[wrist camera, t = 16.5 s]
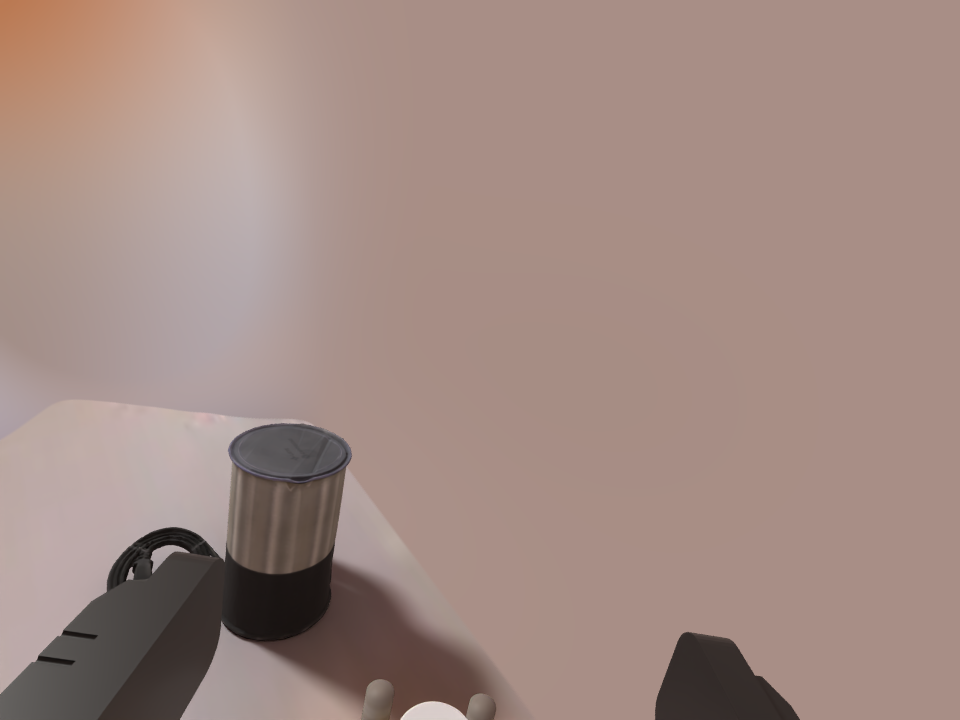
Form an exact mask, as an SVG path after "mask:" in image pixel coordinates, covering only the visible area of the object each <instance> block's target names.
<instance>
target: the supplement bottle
mask: <svg viewBox="0 0 960 720" xmlns="http://www.w3.org/2000/svg"><path fill="white" fill-rule="evenodd" d="M400 720H467V718H466V717H465V716H464V715H463V714H462V713H461V712H460V711H459V710H457V709H456V708H454V707H452V706H450V705H448V704H446V703H442V702H434V701H432V702H424V703H420V704H418V705H416V706H414V707H412V708H411V709H409V710H408V711H407V712H406V713H405V714H404V715H403V717H402V718H401V719H400Z"/></svg>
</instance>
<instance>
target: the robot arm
mask: <svg viewBox="0 0 960 720" xmlns="http://www.w3.org/2000/svg"><path fill="white" fill-rule="evenodd" d="M224 574H225V563H224V560H223V559H222V558H216V557H210V556H204V555H197V554H191V553H184V552H174V553H172V554H171V555H169V556H168V557H167V558H166V560H165V561H164V562H163V563H162V564H161V565H160V566H159V567H158V569H157V570H156V571H155V572H154V573H153V574H152V575H151V576H150V578H149V579H148V580H147V581H146V582H142V581H135V580H129V579H128V580H127V581H125V582H123V583H122V584H120V585H118V586H117V587H115V588H113V589H112V590H110V591H108V592H107V593H105V594H103V595H101V596H100V597H98V598H96V599H95V600H93V601H91V602H90V604H89V605H88V606H87V607H86V608H85V609H84V610H83V611H82V612H81V613H80V614H79V615H78V616H77V617H76V618H75V619H74V620H73V621H72V622H71V623H70V624H69V625H68V626H67V627H66V628H65V629H64V630H63V633H62V635H61V636H60V637H59V636H57V637H56V638H55V639H54V640H53V641H52V642H51V643H50V644H49V645H48V646H47V647H46V648H45V649H44V650H43V651H42V652H41V653H40V654H39V655H38V659H37V661H36V662H35V663H34V662H32V663H31V664H30V665H29V666H28V667H27V668H26V669H25V670H24V671H23V672H22V673H21V674H20V675H19V676H18V677H17V678H16V679H15V680H14V681H13V682H12V683H11V684H10V685H9V686H8V687H7V688H6V689H5V690H4V691H3V692H2V693H1V694H0V720H180V718H181V716H182V715H183V713H184V711H185V709H186V708H187V706H188V704H189V703H190V701H191V699H192V697H193V696H194V694H195V692H196V690H197V689H198V687H199V685H200V683H201V682H202V680H203V678H204V677H205V675H206V673H207V671H208V669H209V667H210V664H211V662H212V660H213V657H214V654H215V651H216V648H217V645H218V641H219V636H220V629H221V615H222V601H223V588H224ZM655 720H800V719H799V718H798V716H797V714H796V713H795V712H794V710H793V708H792V707H791V705H790V704H788V702H787V701H785V699H784V698H782V697H781V695H780V694H779V693H778V692H776V690H775V689H774V688H772V687H771V685H770V684H769V683H768V682H767V681H766V680H765V679H764V678H763V677H761V676H755V675H754V673H753V672H752V670H751V669H750V667H749V665H748V664H747V662H746V660H745V659H744V657H743V655H742V654H741V652H740V650H739V649H738V647H737V646H736V644H735V643H734V642H733V641H731V640H730V639H727V638H722V637H715V636H709V635H703V634H697V633H689V632H686V633H683V634H682V635H681V637H680V638H679V640H678V642H677V645H676V648H675V650H674V653H673V656H672V659H671V661H670V664H669V667H668V669H667V672H666V675H665V677H664V680H663V683H662V686H661V688H660V691H659V693H658V697H657V701H656V709H655Z"/></svg>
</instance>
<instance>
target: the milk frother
mask: <svg viewBox="0 0 960 720" xmlns="http://www.w3.org/2000/svg"><path fill="white" fill-rule="evenodd" d="M228 452H229V456H230V458H231V460H232V473H231V486H230V501H229V515H228V529H227V543H226V557H225V562H224V563H225V574H224V588H223V601H222V615H221V620H222V622H223V623H224V625H225V626H227V627H228V628H229V629H230V630H231V631H233V632H234V633H236V634H238V635H240V636H243V637H246V638H251V639H256V640H277V639H283V638H286V637H290V636H293V635H296V634H299V633H301V632H303V631H305V630H306V629H307V628H309V627H311V626H312V625H313V624H315V623H316V622H317V621H318V620H319V619H320V618H321V617H322V616H323V615H324V613H325V612H326V610H327V608H328V606H329V603H330V599H331V589H330V582H331V567H332V558H333V552H334V546H335V538H336V532H337V527H338V520H339V513H340V507H341V500H342V493H343V486H344V479H345V472H346V466H347V465H348V464H349V462H350V460H351V457H352V456H351V455H352V454H351V449H350V447H349V445H348V444H347V443H346V442H345V441H344V439H343V438H341V437H339V436H338V435H336V434H334V433H332V432H330V431H328V430H325V429H322V428H319V427H315V426H311V425H306V424H286V423H281V424H270V425H264V426H260V427H255V428H253V429H250V430H248V431H245V432H243V433H242V434H240V435H238V436H237V437H236V438H235V439H234V440H233V441H232V442H231V443H230V446H229V449H228ZM165 545H176V546H180V547H182V548H184V549H186V550H187V551H189V552H190V553H191V554H197V555H204V556H210V555H211V556H212V557H216V558H220V557H219V555H218V554H217V553H216V552H215V551H214V550H213V549H212V547H211V546H210V545H209V544H208V543H207V542H206V541H205V540H204V539H203V538H202V537H201V536H199V535H198V534H196V533H194V532H192V531H190V530H187V529H183V528H177V527H170V528H163V529H159V530H156V531H153V532H151V533H149V534H147V535H145V536H144V537H142V538H140V539H139V540H137V541H136V542H135V543H133V544H132V545H131V546H129V547H128V548H127V549H126V551H124V552H123V553H122V555H121V556H120V557H119V558H118V560H116V562H115V563H114V565H113V566H112V569H111V571H110V573H109V576H108V580H107V592H108V591H110V590H112V589H113V588H115V587H117V586H118V585H120V584H122V583H123V582H125V581H126V579H127V576H128V572H129V569H130V568H131V567H133V570H132V572H133V573H134V579H133V580H135V581H142V582H146V581H147V580H148V579H149V578H150V576H151V575H152V567H153V561H152V560H150V559H151V556H152V552H153V551H154V550H156V549H157V548H161V547H163V546H165Z"/></svg>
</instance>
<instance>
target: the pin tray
mask: <svg viewBox="0 0 960 720" xmlns="http://www.w3.org/2000/svg"><path fill="white" fill-rule="evenodd" d="M393 697H394V687H393V685H392V684H391V683H390V682H388V681H387V680H383V679H378V680H374V681H372V682H371V683H370V684H369V685H368V687H367V690H366V695H365V701H364V707H363V713H362V718H361V720H389V718H390V712H391V707H392V702H393ZM495 712H496V704H495V702H494V700H493V699H492V698H491V697H490V696H488V695H486V694H476V695H474V696H472V698H471V699H470V702H469V706H468V710H467V714H466V718H467V720H494V716H495Z"/></svg>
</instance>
